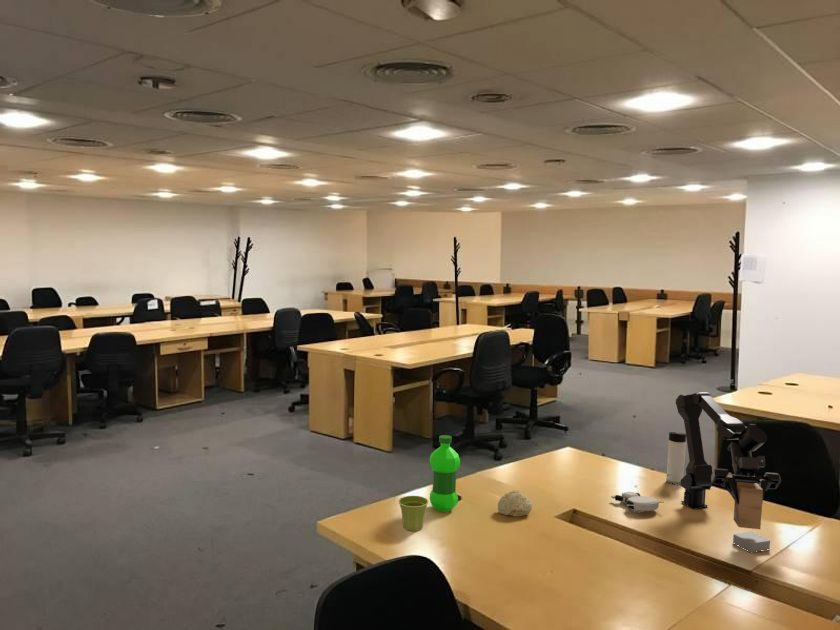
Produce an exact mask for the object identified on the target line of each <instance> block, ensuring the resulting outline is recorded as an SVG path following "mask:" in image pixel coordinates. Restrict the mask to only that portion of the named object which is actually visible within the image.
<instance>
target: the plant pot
mask: <svg viewBox="0 0 840 630" xmlns="http://www.w3.org/2000/svg"><path fill="white" fill-rule="evenodd" d="M398 504H399V507H400V510H401V518H402V526H403V528H404V529H405V530H406V531H410V532H416V531H417V530H419V531H421V530H422V529H423V527H424V520H425V516H426V515H425V514H426V509H427V506H428V504H429V499H428V498H427V497H424V496H419V495H406V496H403V497H400V498H399V499H398Z"/></svg>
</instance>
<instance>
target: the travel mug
mask: <svg viewBox="0 0 840 630" xmlns="http://www.w3.org/2000/svg"><path fill="white" fill-rule="evenodd" d="M667 445H668V446H667V461H666V478H665V479H666V480H665V482H667V483H668V482H669V483H668V484H670V483H673V484H672V485H674V484H681V479H682V478H683V477H684V476H685V462H686V445H687V438H686V433H683V432H681V433H679V432H673V431H669V433H668V444H667Z"/></svg>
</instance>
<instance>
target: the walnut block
mask: <svg viewBox="0 0 840 630" xmlns="http://www.w3.org/2000/svg"><path fill="white" fill-rule="evenodd" d="M735 484H736V489H737V493H738V498H739V504H737V503H736V502H735V501H734V506H733V507H734V509H733V521H734V523H735V524H736V526H737V527H738V528H741V529H742V528H744V529H753V530H761V528H762V527H761V525H762V510H763V503H762V499H763V500H764V498H763V489H762V488H761V487H760V486H759V485H758V483H757V482H746V481H735Z"/></svg>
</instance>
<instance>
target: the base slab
mask: <svg viewBox="0 0 840 630" xmlns="http://www.w3.org/2000/svg"><path fill="white" fill-rule="evenodd" d="M732 538H733V541H732V544H733V543H735V544H736V545H735V544H734V545H735V546H737V545H739V546H740V547H742V548H744V549H746V550H748V551H750V552H756V551H761V550H767V549H769V550H770V548H771V547H770V546H771V540H770V539H768V538H766V537H763V536H762V535H759V534H758V533H755V532H754V531H744V532H738V533H733V537H732ZM739 546H738V547H739ZM740 547H739V548H740ZM742 548H741V549H742ZM744 549H743V550H744ZM746 550H745V551H746ZM748 551H747V552H748ZM750 552H749V553H750ZM756 553H757V552H756Z"/></svg>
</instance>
